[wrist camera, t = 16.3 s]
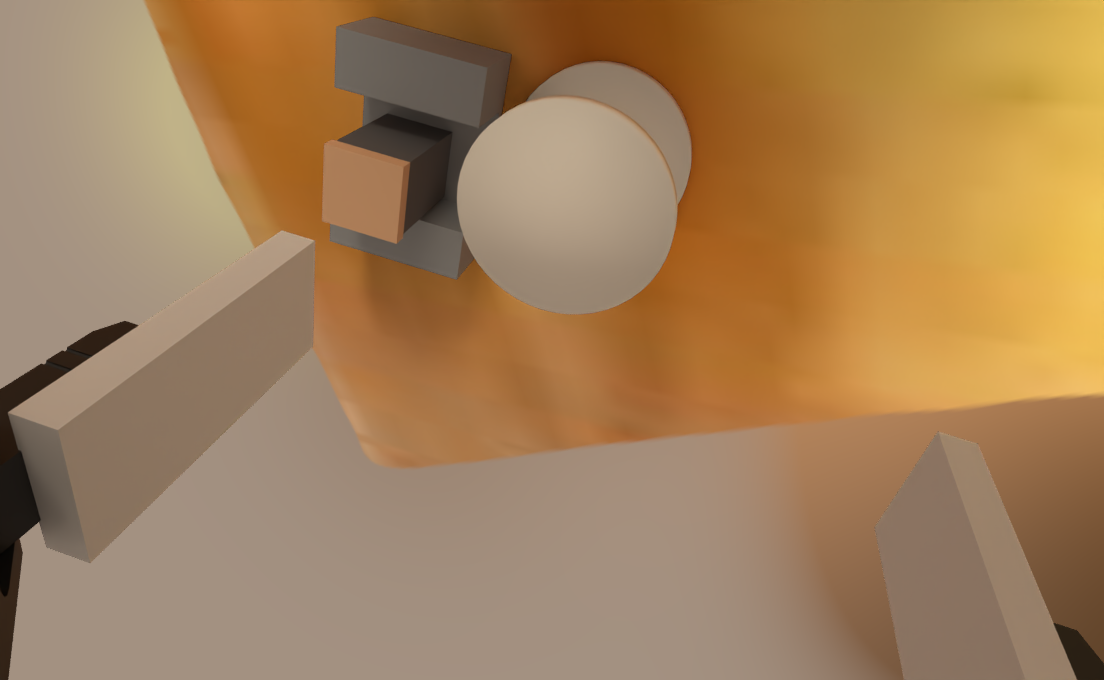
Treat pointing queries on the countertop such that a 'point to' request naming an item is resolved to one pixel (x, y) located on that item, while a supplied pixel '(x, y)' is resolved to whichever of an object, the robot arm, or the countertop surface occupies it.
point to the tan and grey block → (385, 176)
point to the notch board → (422, 120)
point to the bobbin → (577, 189)
